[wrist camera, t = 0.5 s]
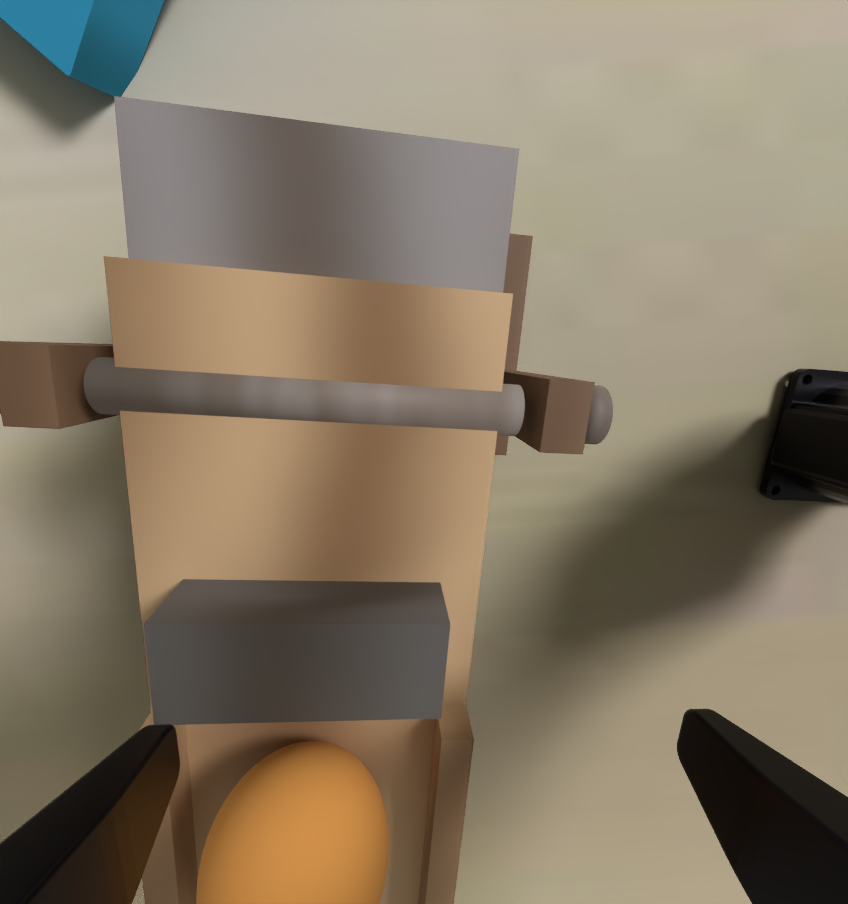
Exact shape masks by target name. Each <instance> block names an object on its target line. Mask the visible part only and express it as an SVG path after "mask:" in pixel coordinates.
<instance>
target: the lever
mask: <svg viewBox="0 0 848 904" xmlns="http://www.w3.org/2000/svg"><path fill="white" fill-rule="evenodd" d="M163 3H164V0H0V18H2V19H3V20H4V21H5V22H6V23H7V24H8V25H10V26H11V27H12V28H13V29H14V30H15V31H16V32H18V33H19V34H20V35H21V36H22V37H23V38H24V39H26V40H27V41H28V42H29V43H30V44H31V45H32V46H34V47H35V48H36V49H37V50H38V51H39V52H41V53H42V54H43V55H44V56H45V57H46V58H47V59H49V60H50V61H51V62H52V63H53V64H54V65H55V66H57V67H58V68H59V69H60V70H61V71H62V72H63V73H65V74H66V75H67V76H69V77H71V78H74V79H76V80H78V81H80V82H83V83H85V84H87V85H89V86H92V87H94V88H96V89H98V90H100V91H103V92H105V93H107V94H109V95H112V96H117V97H121V96H122V94H123V93H124V91H125V90H126V88H127V87H128V85H129V84H130V82H131V81H132V79H133V77H134V76H135V74H136V73H137V71H138V69H139V66H140V64H141V61H142V58H143V56H144V53H145V50H146V48H147V45H148V42H149V40H150V37H151V35H152V32H153V29H154V27H155V24H156V21H157V19H158V16H159V13H160V11H161V8H162V5H163Z"/></svg>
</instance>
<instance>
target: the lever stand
mask: <svg viewBox="0 0 848 904" xmlns="http://www.w3.org/2000/svg"><path fill="white" fill-rule="evenodd" d="M532 238H533V236H526V235H516V234H510V235H509V244H508V254H507V263H506V272H505V281H504V290H503V293H511V294H513V300H512V309H511V317H510V326H509V335H508V343H507V352H506V361H505V370H504V378H503V384H515V385H520V386H521V387H522V389H523V392H524V399H525V411H524V418H523V423H522V426H521V429H520V431H519V433H518V434H517V435H516V437H517V438H519V439H520V440H522V441H523V442H525V443H526V444H528V445H529V446H531V447H532V448H534V449H536V450H537V451H539V452H544V453H564V454H583V450H584V444H598V443H600V442H601V441H602V440H603V439H604V438H605V437H606V435H607V433H608V431H609V429H610V426H611V422H612V415H613V405H612V399H611V396H610V394H609V392H608V390H607V389H606V388H605V387H603V386H594V384H595V382H588V381H581V380H574V379H567V378H560V377H554V376H547V375H540V374H533V373H526V372H520V371H516V369H517V361H518V353H519V345H520V336H521V328H522V320H523V312H524V303H525V295H526V287H527V279H528V271H529V262H530V254H531V246H532ZM97 357H110V358H114V351H113V344H84V343H48V342H11V341H0V414H1V416H2V421H3V426H9V427H30V428H50V429H61V428H66V427H70V426H74V425H78V424H83V423H87V422H91V421H95V420H99V419H104V418H108V417H112V416H116V415H109V414H100V413H98V412H96V411H95V410H94V409H93V408H92V407H91V406H90V405H89V403H88V401H87V399H86V396H85V392H84V374H85V371H86V368H87V366H88V365H89V363H90V362H91V361H92V360H93V359H95V358H97ZM507 443H508V436H507V435H497V439H496V448H495V455H506V452H507Z"/></svg>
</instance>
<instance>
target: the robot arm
mask: <svg viewBox="0 0 848 904" xmlns="http://www.w3.org/2000/svg"><path fill="white" fill-rule="evenodd" d="M803 378H804V380H803ZM802 381H803V382H802ZM772 488H773V489H772ZM771 489H772V491H771ZM759 491H760V494H761V495H762V496H764V497H766V498H769V499H773V500H795V501H821V502H844V503H847V504H848V372H842V371H829V370H816V369H798V370H796V371H794V373H793V374H792V375H791V377H790V380H789V383H788V387H787V391H786V394H785V398H784V401H783V405H782V409H781V412H780V416H779V420H778V423H777V427H776V430H775V434H774V438H773V441H772V445H771V448H770V452H769V456H768V459H767V463H766V467H765V470H764V474H763V477H762V481H761V485H760V490H759ZM677 752H678V756H679V759H680V762H681V764H682V766H683V768H684V770H685V772H686V774H687V776H688V778H689V780H690V783H691V785H692V787H693V789H694V791H695V793H696V795H697V797H698V799H699V801H700V803H701V805H702V807H703V809H704V811H705V814H706V816H707V818H708V820H709V822H710V824H711V826H712V828H713V830H714V832H715V834H716V836H717V838H718V840H719V842H720V844H721V847H722V849H723V851H724V853H725V855H726V857H727V858H728V860H729V862H730V864H731V866H732V868H733V870H734V872H735V874H736V876H737V878H738V879H739V881H740V883H741V885H742V887H743V888H744V890H745V892H746V894H747V895H748V897H749V899H750V901H751V902H752V904H848V797H847V796H845V795H844V794H842V793H840V792H839V791H837V790H836V789H834V788H833V787H831V786H830V785H828V784H827V783H825V782H823V781H822V780H820V779H819V778H817V777H816V776H814V775H813V774H811V773H809V772H808V771H806V770H805V769H803V768H802V767H800V766H799V765H797V764H796V763H794V762H792V761H791V760H789V759H788V758H786V757H785V756H783V755H782V754H780V753H779V752H777V751H775V750H774V749H772V748H771V747H769V746H768V745H766V744H765V743H763V742H761V741H760V740H758V739H757V738H755V737H754V736H752V735H751V734H749V733H748V732H746V731H744V730H743V729H741V728H740V727H738V726H737V725H735V724H734V723H732V722H730V721H729V720H727V719H726V718H724V717H723V716H721V715H720V714H718V713H716V712H715V711H713V710H710V709H689V710H687V711H686V712H685V714H684V716H683V721H682V725H681V729H680V733H679V737H678V742H677ZM179 771H180V757H179V749H178V741H177V733H176V729H175V727H174V726H173V725H171V724H158V725H148V726H145V727H144V728H142V729H141V730H139V731H138V732H137V733H136V734H134V735H133V736H132V737H131V738H129V739H128V740H127V741H126V742H125V743H123V744H122V745H121V746H120V747H118V748H117V749H116V750H115V751H113V752H112V753H111V754H110V755H109V756H107V757H106V758H105V759H104V760H102V761H101V762H100V763H99V764H97V765H96V766H95V767H94V768H93V769H91V770H90V771H89V772H88V773H86V774H85V775H84V776H83V777H81V778H80V779H79V780H78V781H76V782H75V783H74V784H73V785H72V786H70V787H69V788H68V789H67V790H65V791H64V792H63V793H62V794H60V795H59V796H58V797H57V798H56V799H54V800H53V801H52V802H51V803H49V804H48V805H47V806H46V807H44V808H43V809H42V810H41V811H40V812H38V813H37V814H36V815H35V816H33V817H32V818H31V819H30V820H28V821H27V822H26V823H25V824H24V825H22V826H21V827H20V828H19V829H17V830H16V831H15V832H14V833H12V834H11V835H10V836H9V837H8V838H6V839H5V840H4V841H3V842H1V843H0V904H132V902H133V899H134V897H135V894H136V891H137V889H138V886H139V884H140V881H141V878H142V875H143V873H144V870H145V867H146V865H147V862H148V859H149V856H150V854H151V851H152V848H153V845H154V843H155V840H156V837H157V835H158V832H159V829H160V826H161V824H162V821H163V818H164V815H165V813H166V810H167V807H168V805H169V802H170V799H171V796H172V794H173V791H174V788H175V785H176V783H177V780H178V776H179Z"/></svg>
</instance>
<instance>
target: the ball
mask: <svg viewBox="0 0 848 904" xmlns="http://www.w3.org/2000/svg"><path fill="white" fill-rule="evenodd" d="M388 860H389V830H388V821H387V816H386V811H385V806H384V802H383V799H382V796H381V794H380V791H379V789H378V786H377V784H376V782H375V781H374V779H373V777H372V775H371V774H370V772H369V771H368V770H367V768H366V767H365V766H364V765H363V764H362V762H361V761H360V760H359V759H357V758H356V757H355V756H354V755H353V754H351V753H350V752H348V751H347V750H345V749H343V748H342V747H340V746H337V745H334V744H331V743H326V742H320V741H307V742H299V743H295V744H291V745H288V746H286V747H283V748H281V749H279V750H277V751H275V752H273V753H271V754H269V755H268V756H266V757H265V758H264V759H262V760H261V761H260V762H258V763H257V764H256V765H254V766H253V767H252V768H251V769H250V770H249V771H248V772H247V773H246V774H245V775H244V776H243V777H242V778H241V779H240V781H239V782H238V783H237V784H236V786H235V787H234V788H233V790H232V791H231V792H230V794H229V795H228V796H227V798H226V800H225V801H224V803H223V805H222V807H221V808H220V810H219V812H218V814H217V815H216V817H215V820H214V822H213V824H212V827H211V829H210V832H209V834H208V837H207V839H206V843H205V846H204V849H203V852H202V857H201V862H200V867H199V873H198V879H197V893H196V904H379V902H380V899H381V896H382V892H383V888H384V884H385V879H386V873H387V866H388Z"/></svg>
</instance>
